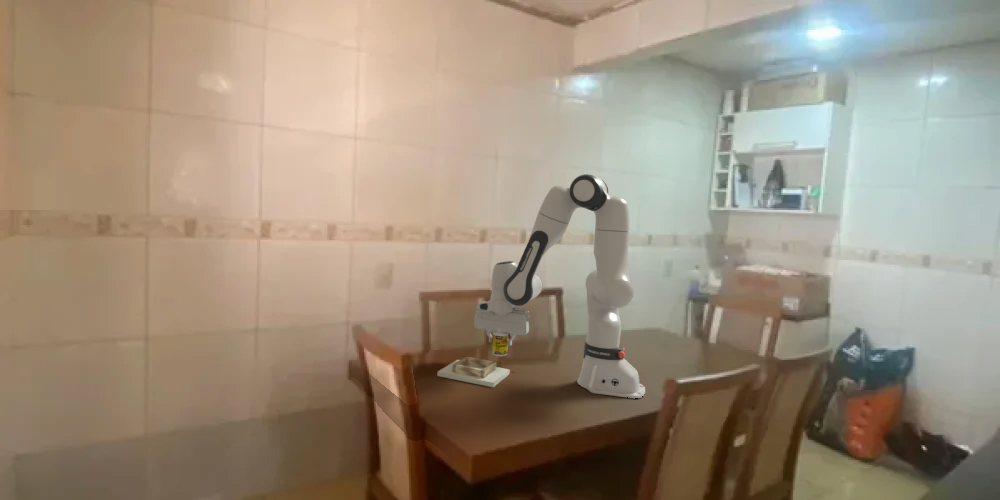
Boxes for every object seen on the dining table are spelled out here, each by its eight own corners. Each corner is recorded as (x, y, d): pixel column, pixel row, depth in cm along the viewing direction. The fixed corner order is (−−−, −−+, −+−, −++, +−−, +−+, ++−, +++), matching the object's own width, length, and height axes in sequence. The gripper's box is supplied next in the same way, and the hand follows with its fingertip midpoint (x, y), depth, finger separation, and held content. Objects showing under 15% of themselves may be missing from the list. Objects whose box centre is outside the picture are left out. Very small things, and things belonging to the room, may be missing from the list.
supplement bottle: (493, 356, 191) (494, 328, 190) (491, 352, 197) (492, 324, 196) (508, 356, 192) (509, 328, 191) (506, 352, 197) (507, 325, 196)
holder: (509, 373, 186) (510, 362, 186) (493, 387, 171) (494, 375, 171) (457, 363, 193) (458, 352, 193) (437, 375, 178) (438, 364, 178)
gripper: (532, 308, 192) (530, 345, 193) (479, 301, 199) (477, 337, 200) (527, 311, 186) (524, 349, 187) (473, 304, 193) (471, 341, 194)
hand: (500, 343), depth 194 cm, fingers closed on supplement bottle, 5 cm apart
